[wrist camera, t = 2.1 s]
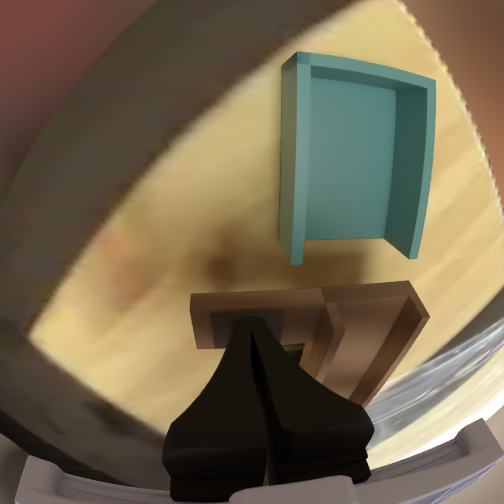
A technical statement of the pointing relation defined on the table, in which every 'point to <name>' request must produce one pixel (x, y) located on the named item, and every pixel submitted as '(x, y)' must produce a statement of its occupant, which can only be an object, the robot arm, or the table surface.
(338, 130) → the teal open-ended tray
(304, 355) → the lever
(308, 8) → the table surface
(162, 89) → the table surface
